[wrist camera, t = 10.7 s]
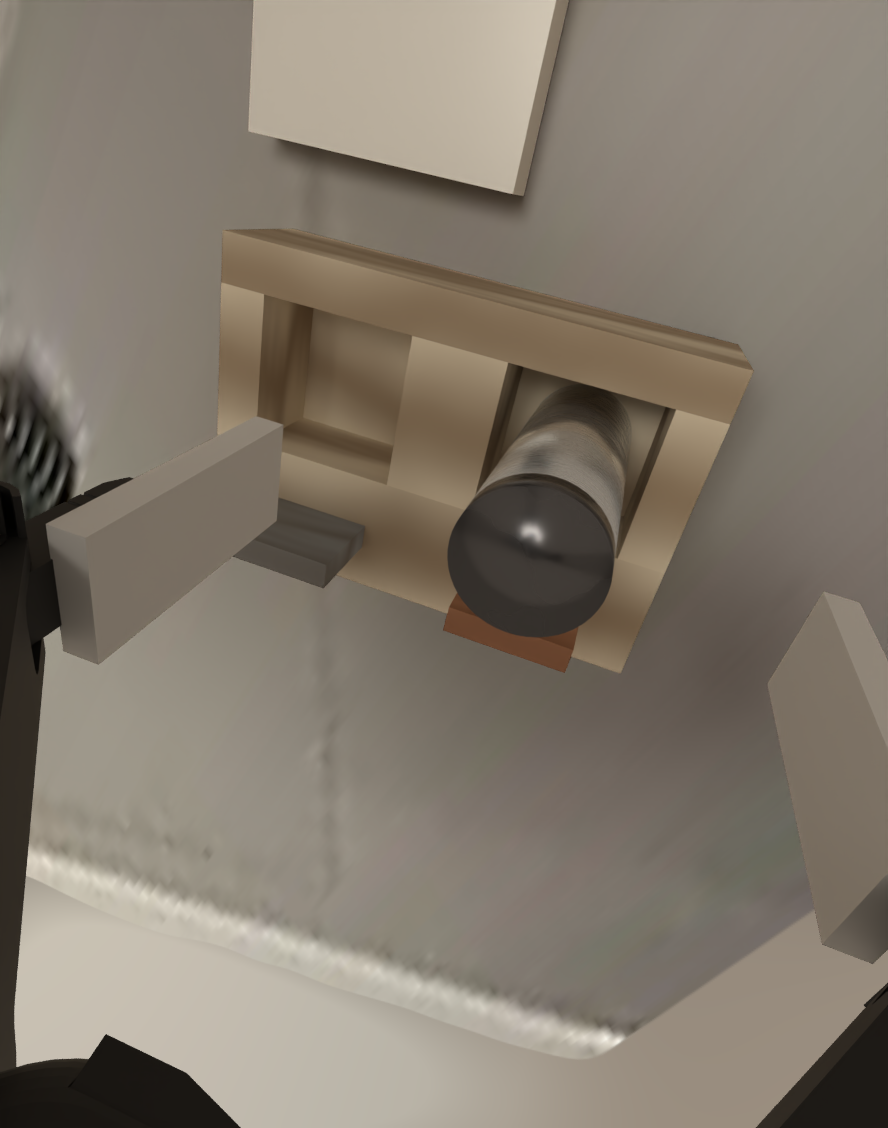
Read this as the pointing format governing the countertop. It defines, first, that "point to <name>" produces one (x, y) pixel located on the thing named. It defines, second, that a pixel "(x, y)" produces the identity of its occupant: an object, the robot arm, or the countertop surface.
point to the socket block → (450, 419)
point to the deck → (409, 81)
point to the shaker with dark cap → (547, 518)
